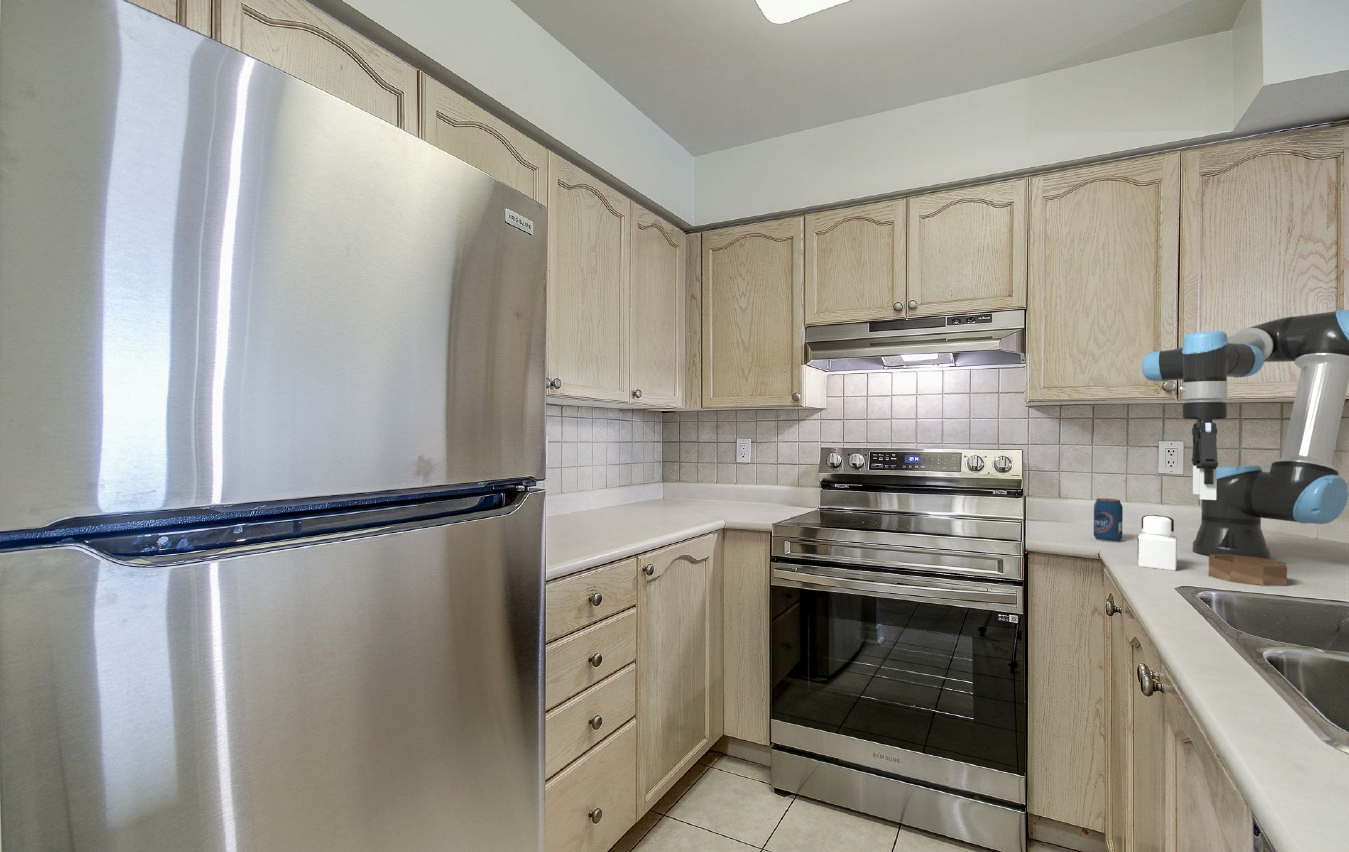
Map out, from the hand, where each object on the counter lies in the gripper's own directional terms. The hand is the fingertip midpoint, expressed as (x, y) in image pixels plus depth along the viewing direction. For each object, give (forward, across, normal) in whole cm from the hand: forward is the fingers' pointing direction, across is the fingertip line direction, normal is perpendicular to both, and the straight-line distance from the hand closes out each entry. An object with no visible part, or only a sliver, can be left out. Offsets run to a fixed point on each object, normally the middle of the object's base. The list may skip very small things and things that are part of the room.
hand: (1203, 496), depth 140 cm
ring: (+17, -1, +7) cm, 19 cm away
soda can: (+18, -42, -18) cm, 49 cm away
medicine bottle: (+18, -5, -8) cm, 20 cm away
